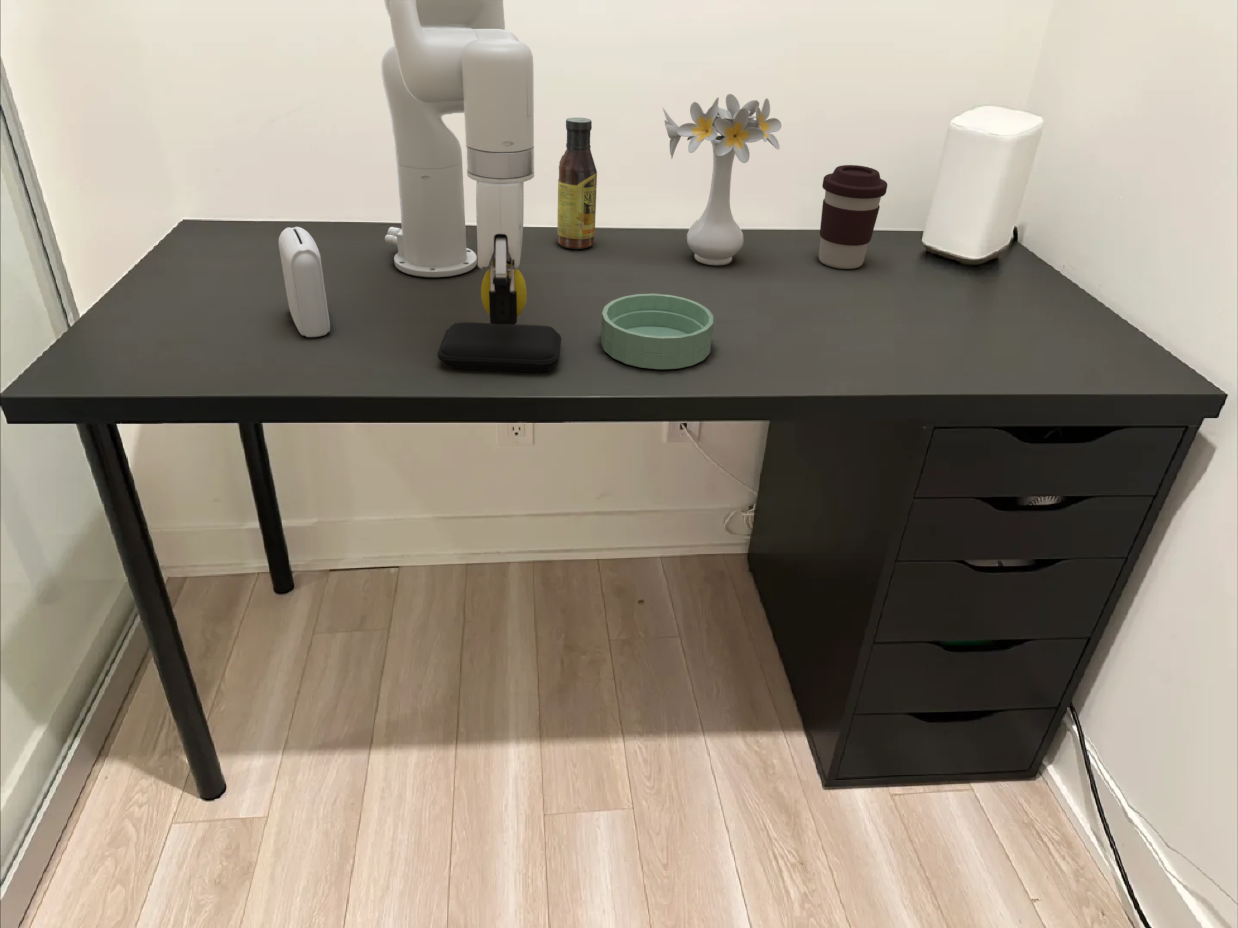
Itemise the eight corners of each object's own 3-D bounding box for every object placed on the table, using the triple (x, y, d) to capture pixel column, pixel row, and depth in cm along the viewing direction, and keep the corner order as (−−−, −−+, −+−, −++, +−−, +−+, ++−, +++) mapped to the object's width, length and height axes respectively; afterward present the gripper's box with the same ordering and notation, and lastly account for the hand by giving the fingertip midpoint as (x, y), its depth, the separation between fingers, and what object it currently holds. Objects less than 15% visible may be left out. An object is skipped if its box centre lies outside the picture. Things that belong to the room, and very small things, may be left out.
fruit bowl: (582, 354, 113) (583, 322, 111) (629, 316, 124) (630, 286, 122) (685, 380, 108) (689, 347, 106) (725, 338, 119) (728, 307, 117)
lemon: (491, 335, 107) (489, 272, 102) (475, 318, 111) (473, 256, 107) (534, 329, 109) (533, 266, 105) (517, 312, 113) (516, 251, 109)
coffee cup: (879, 260, 149) (898, 169, 140) (858, 277, 141) (877, 182, 133) (823, 248, 153) (838, 158, 145) (800, 263, 146) (815, 170, 138)
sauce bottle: (589, 252, 145) (593, 125, 135) (552, 248, 146) (553, 122, 136) (598, 240, 151) (602, 117, 140) (562, 236, 152) (564, 113, 141)
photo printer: (287, 310, 120) (272, 220, 114) (319, 306, 122) (306, 217, 115) (299, 340, 113) (284, 246, 106) (334, 336, 114) (321, 242, 108)
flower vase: (645, 248, 149) (655, 88, 135) (750, 245, 152) (770, 89, 139) (664, 276, 138) (677, 106, 124) (776, 272, 141) (800, 106, 128)
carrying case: (562, 340, 117) (449, 335, 116) (562, 318, 115) (448, 313, 115) (557, 377, 108) (435, 372, 107) (557, 354, 106) (433, 349, 106)
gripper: (471, 142, 106) (477, 286, 116) (461, 181, 92) (469, 342, 102) (534, 144, 107) (535, 287, 117) (534, 183, 93) (535, 342, 102)
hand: (504, 311), depth 109 cm, fingers closed on lemon, 5 cm apart
